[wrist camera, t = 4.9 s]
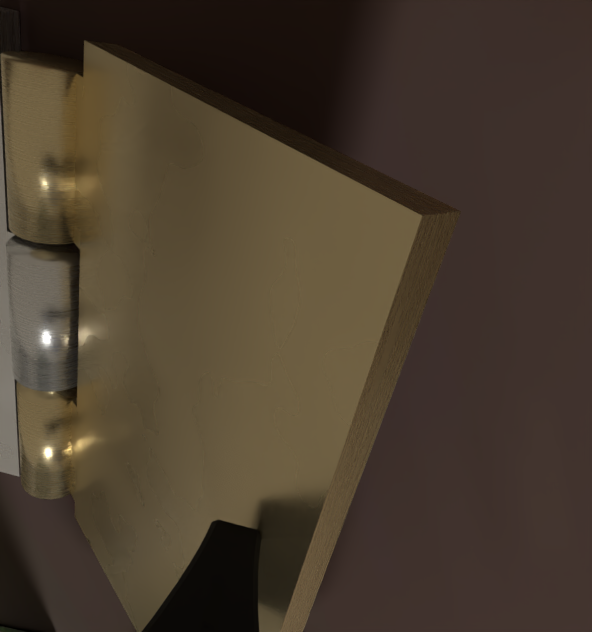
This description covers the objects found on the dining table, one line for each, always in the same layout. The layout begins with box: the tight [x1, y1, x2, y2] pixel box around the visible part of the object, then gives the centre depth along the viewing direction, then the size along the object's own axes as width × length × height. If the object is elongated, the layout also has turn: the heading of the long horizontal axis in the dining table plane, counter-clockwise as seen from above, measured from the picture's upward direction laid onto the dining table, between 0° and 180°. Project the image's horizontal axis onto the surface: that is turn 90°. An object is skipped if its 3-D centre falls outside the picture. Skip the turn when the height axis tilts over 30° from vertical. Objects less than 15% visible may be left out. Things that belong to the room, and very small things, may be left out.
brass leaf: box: [0, 40, 461, 632], centre depth 14 cm, size 13×16×2 cm
